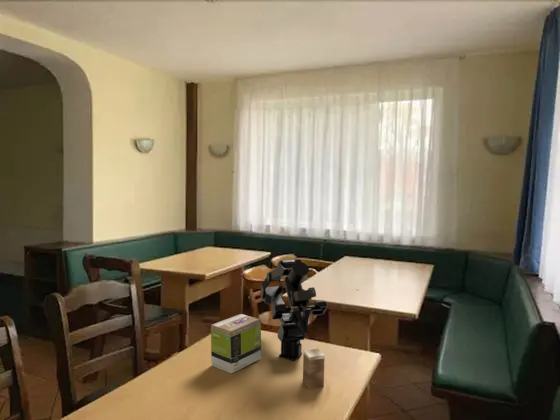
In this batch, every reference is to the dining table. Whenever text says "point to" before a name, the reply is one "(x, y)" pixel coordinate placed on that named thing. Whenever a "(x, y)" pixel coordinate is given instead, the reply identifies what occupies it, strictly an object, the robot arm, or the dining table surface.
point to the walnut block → (313, 368)
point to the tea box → (235, 342)
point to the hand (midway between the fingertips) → (305, 333)
